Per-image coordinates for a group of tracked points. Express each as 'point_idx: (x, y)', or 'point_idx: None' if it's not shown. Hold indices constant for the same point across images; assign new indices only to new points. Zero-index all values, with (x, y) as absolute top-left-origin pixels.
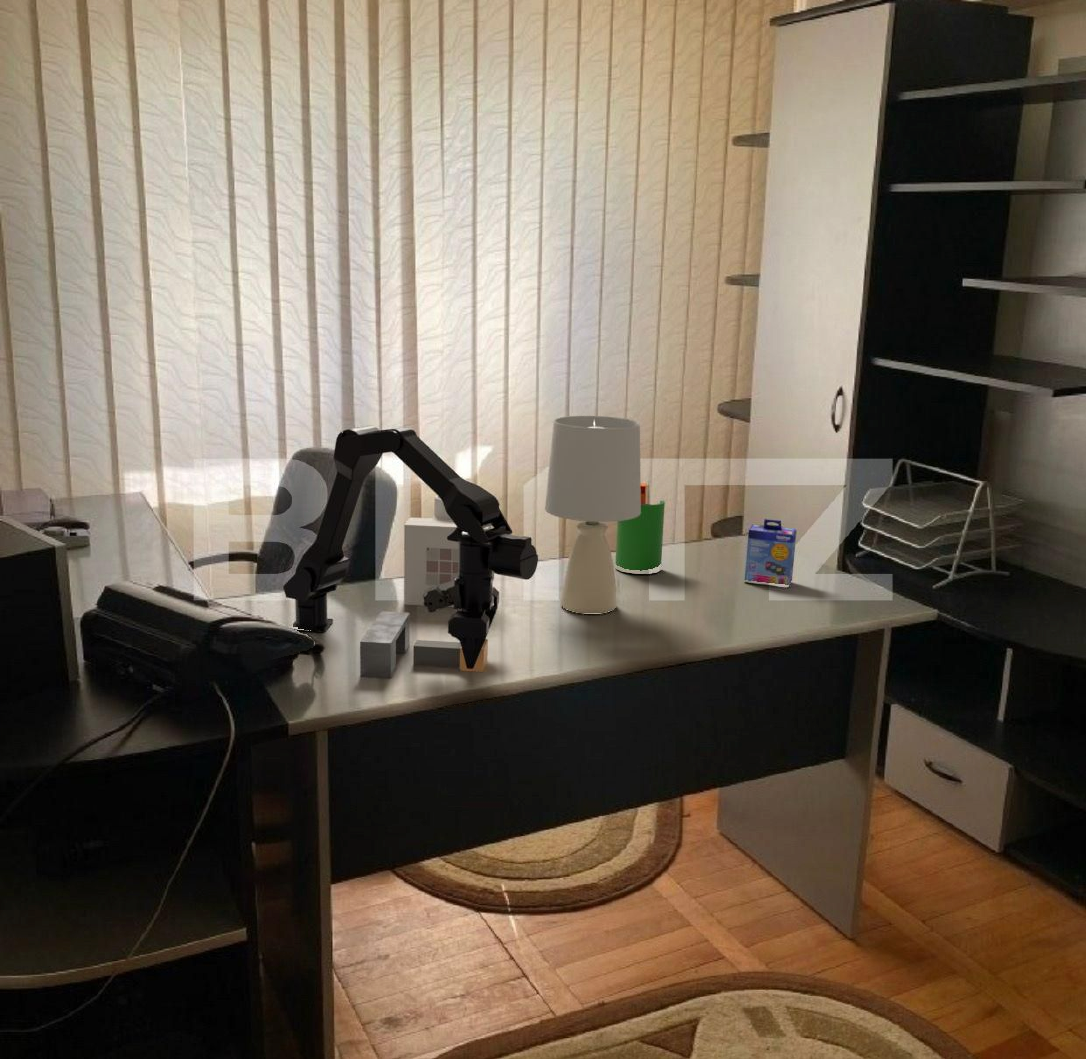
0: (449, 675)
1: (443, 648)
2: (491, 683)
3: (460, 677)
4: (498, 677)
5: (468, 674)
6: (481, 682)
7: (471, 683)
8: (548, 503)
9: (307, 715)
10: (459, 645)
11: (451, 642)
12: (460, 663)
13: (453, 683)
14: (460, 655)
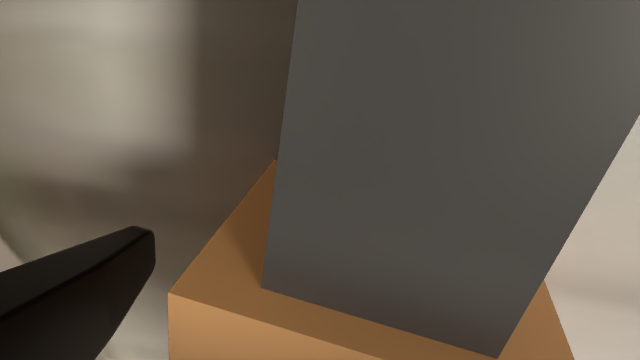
0: (157, 68)
1: (293, 55)
2: None
3: (134, 148)
4: None
5: (198, 207)
6: None
7: (56, 202)
8: None
9: None
10: (378, 294)
11: (551, 214)
12: (249, 192)
13: (18, 88)
14: (216, 235)
